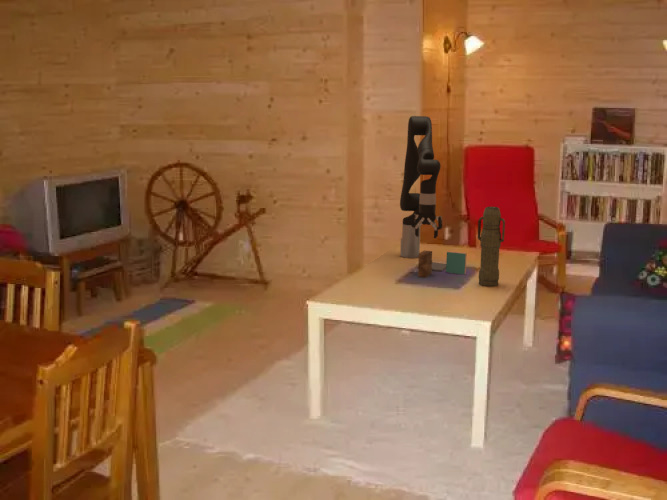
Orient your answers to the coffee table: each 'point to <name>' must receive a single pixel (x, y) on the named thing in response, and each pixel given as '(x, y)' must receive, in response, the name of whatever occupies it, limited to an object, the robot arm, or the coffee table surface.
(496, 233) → the olive canister
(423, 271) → the tall wooden block
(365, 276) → the coffee table surface
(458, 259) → the tile
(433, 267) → the rest mat
